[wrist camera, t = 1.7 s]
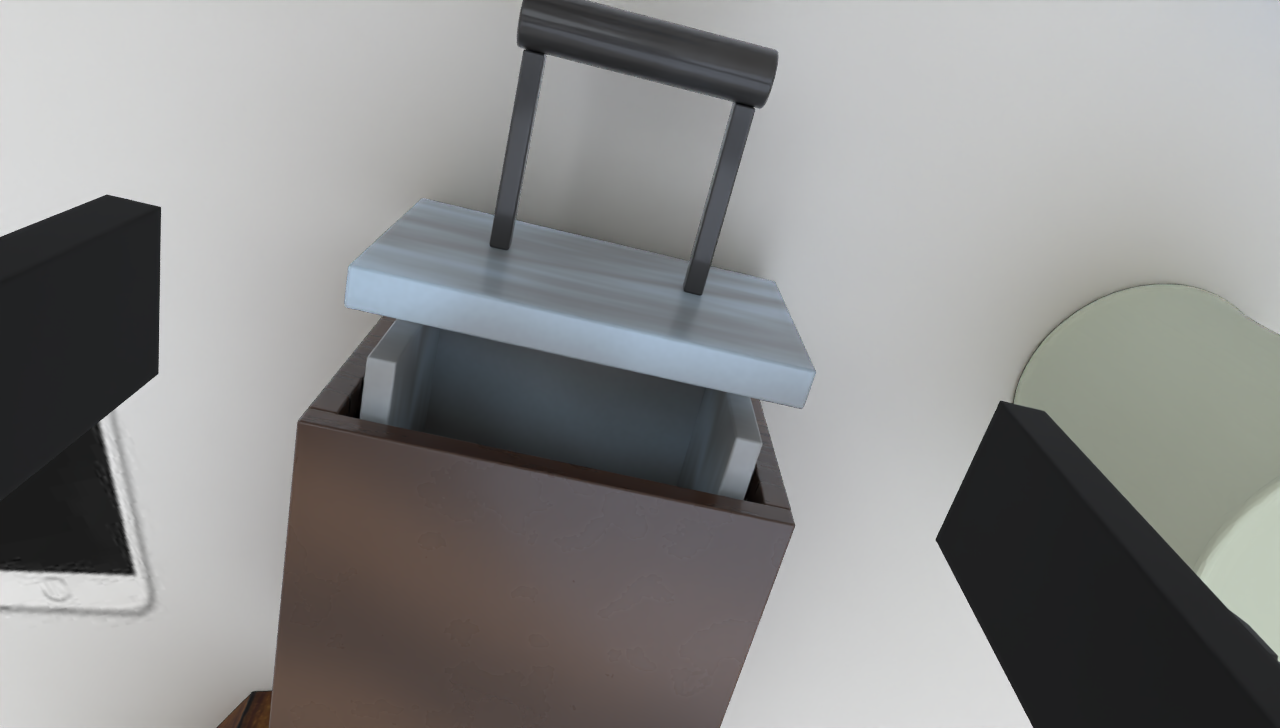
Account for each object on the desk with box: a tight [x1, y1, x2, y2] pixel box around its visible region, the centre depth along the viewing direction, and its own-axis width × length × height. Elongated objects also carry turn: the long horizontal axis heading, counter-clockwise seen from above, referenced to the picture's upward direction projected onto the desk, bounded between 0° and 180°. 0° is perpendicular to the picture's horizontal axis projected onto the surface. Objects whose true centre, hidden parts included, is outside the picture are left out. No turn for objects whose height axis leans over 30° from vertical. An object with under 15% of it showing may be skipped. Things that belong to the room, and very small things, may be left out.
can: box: [1013, 284, 1280, 662], centre depth 27 cm, size 9×9×12 cm
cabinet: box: [269, 316, 795, 728], centre depth 30 cm, size 16×14×10 cm
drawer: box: [344, 0, 816, 500], centre depth 27 cm, size 22×12×8 cm, turn 166°
